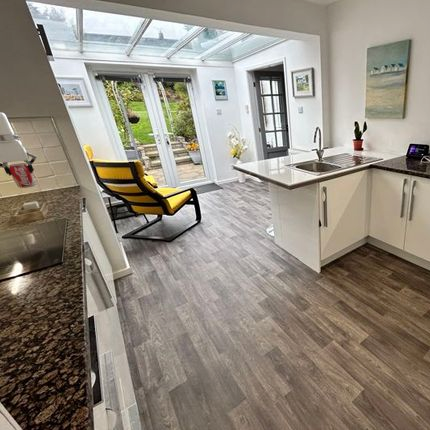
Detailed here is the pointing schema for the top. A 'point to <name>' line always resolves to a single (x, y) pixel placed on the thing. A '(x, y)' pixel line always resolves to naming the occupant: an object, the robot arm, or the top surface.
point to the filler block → (30, 205)
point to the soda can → (22, 175)
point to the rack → (31, 214)
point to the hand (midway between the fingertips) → (21, 173)
